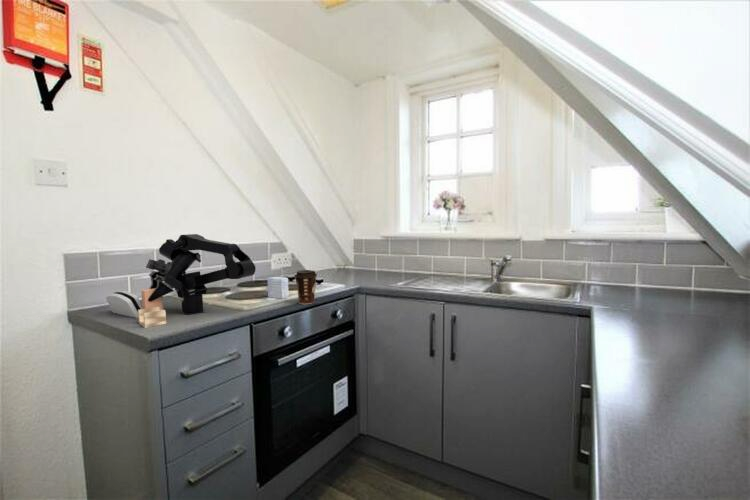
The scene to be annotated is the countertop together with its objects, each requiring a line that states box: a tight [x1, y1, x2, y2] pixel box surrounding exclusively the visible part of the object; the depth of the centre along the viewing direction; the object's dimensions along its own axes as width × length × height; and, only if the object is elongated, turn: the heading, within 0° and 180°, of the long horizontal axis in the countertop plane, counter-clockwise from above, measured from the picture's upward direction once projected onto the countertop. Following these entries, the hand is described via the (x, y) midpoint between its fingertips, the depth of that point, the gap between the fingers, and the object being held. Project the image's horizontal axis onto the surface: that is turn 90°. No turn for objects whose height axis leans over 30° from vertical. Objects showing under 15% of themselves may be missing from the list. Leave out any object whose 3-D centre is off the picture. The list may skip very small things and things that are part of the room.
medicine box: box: [267, 276, 289, 300], centre depth 156 cm, size 8×4×9 cm, turn 65°
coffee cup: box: [294, 269, 318, 305], centre depth 145 cm, size 9×8×13 cm
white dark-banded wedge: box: [105, 290, 143, 319], centre depth 130 cm, size 17×5×10 cm, turn 61°
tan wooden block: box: [138, 307, 167, 329], centre depth 118 cm, size 6×8×4 cm
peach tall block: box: [140, 288, 164, 310], centre depth 125 cm, size 5×4×10 cm
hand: (147, 300), depth 124 cm, fingers closed on peach tall block, 4 cm apart
